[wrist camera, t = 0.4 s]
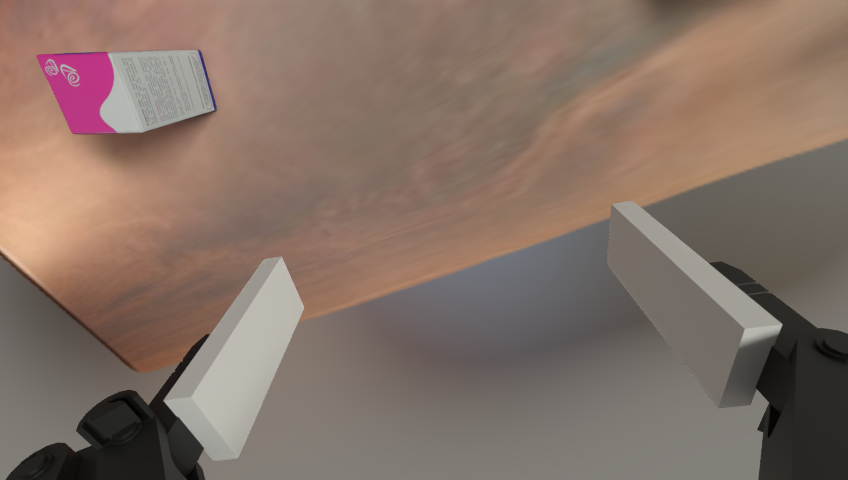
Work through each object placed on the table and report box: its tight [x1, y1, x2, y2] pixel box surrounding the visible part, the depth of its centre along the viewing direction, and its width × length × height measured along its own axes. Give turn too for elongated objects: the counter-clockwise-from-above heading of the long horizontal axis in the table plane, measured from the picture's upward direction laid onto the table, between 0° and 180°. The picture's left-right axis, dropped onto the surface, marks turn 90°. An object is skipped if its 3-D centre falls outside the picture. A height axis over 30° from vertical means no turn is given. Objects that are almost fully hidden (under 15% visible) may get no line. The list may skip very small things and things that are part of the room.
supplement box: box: [37, 50, 217, 134], centre depth 32 cm, size 6×6×12 cm
